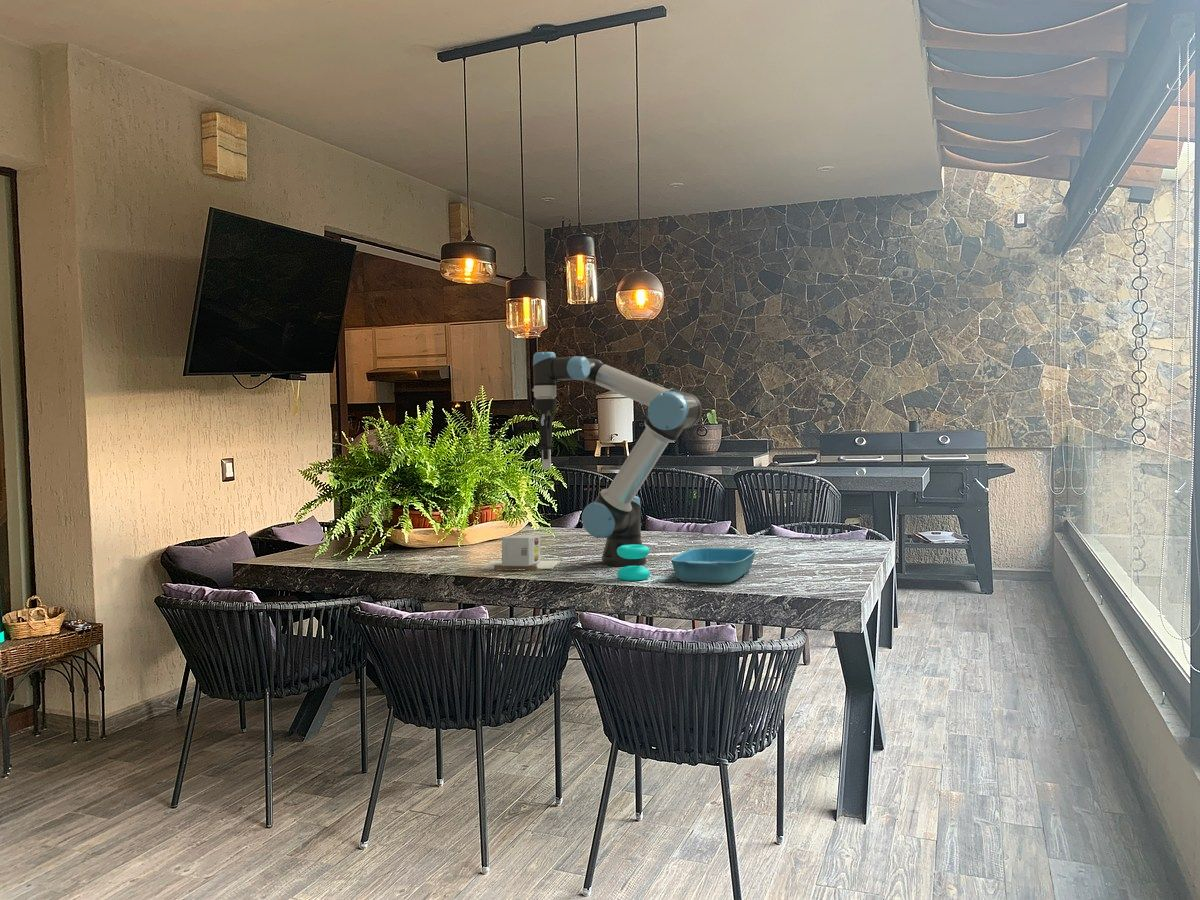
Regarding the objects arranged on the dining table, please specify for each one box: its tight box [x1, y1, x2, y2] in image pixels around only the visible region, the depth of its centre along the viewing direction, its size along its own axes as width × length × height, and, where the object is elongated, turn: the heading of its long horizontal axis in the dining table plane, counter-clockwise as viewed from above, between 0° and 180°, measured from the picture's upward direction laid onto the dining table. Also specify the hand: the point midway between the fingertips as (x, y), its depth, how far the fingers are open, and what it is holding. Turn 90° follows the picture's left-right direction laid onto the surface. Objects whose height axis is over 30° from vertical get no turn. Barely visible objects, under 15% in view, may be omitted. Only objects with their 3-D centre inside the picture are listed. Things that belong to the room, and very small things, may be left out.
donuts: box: [616, 544, 651, 582], centre depth 287 cm, size 10×10×10 cm
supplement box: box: [501, 535, 541, 566], centre depth 312 cm, size 10×9×17 cm
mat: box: [480, 560, 561, 571], centre depth 315 cm, size 24×17×2 cm
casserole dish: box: [670, 546, 757, 584], centre depth 290 cm, size 37×22×7 cm, turn 160°
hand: (546, 468), depth 315 cm, fingers closed
